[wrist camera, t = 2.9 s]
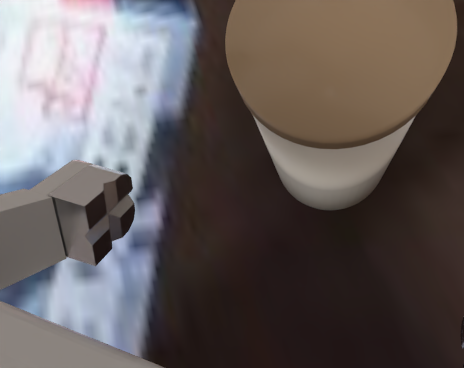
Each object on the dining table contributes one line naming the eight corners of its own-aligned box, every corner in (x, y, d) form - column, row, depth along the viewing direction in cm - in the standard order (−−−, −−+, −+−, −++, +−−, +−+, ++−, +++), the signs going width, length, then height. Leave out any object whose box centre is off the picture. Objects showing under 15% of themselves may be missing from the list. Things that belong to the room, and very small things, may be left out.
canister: (262, 196, 21) (198, 110, 10) (290, 98, 22) (258, -74, 11) (372, 225, 19) (430, 159, 9) (398, 118, 20) (478, -57, 10)
